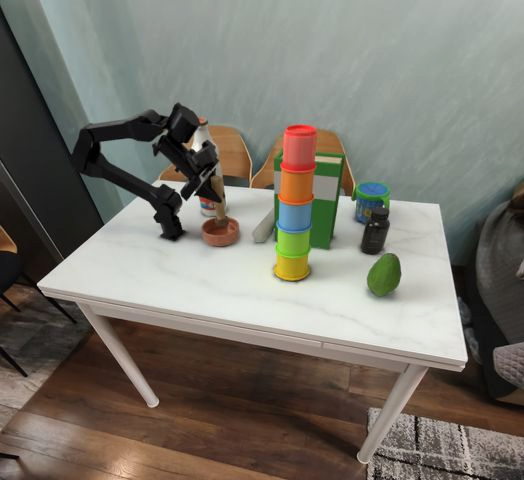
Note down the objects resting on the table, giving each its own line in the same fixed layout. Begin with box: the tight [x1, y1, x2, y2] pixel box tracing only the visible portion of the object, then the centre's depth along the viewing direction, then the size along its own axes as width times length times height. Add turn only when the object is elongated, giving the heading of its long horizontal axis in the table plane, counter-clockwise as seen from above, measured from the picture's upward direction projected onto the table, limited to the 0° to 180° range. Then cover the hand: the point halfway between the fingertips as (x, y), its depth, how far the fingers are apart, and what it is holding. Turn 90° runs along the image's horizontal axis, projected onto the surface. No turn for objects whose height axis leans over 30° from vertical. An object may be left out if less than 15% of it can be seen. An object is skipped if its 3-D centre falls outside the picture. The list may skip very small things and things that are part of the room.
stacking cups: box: [273, 124, 318, 282], centre depth 75 cm, size 10×10×35 cm
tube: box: [252, 207, 275, 243], centre depth 103 cm, size 5×5×25 cm
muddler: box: [211, 176, 229, 226], centre depth 91 cm, size 4×4×14 cm
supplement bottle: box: [360, 206, 391, 255], centre depth 90 cm, size 7×7×12 cm
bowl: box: [200, 216, 241, 247], centre depth 100 cm, size 12×12×4 cm
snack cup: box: [350, 181, 391, 224], centre depth 102 cm, size 16×10×10 cm
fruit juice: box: [190, 117, 228, 217], centre depth 103 cm, size 9×9×28 cm
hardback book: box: [273, 148, 347, 250], centre depth 90 cm, size 18×7×24 cm, turn 70°
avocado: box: [366, 252, 402, 297], centre depth 77 cm, size 8×8×12 cm
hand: (223, 199), depth 91 cm, fingers closed on muddler, 3 cm apart
